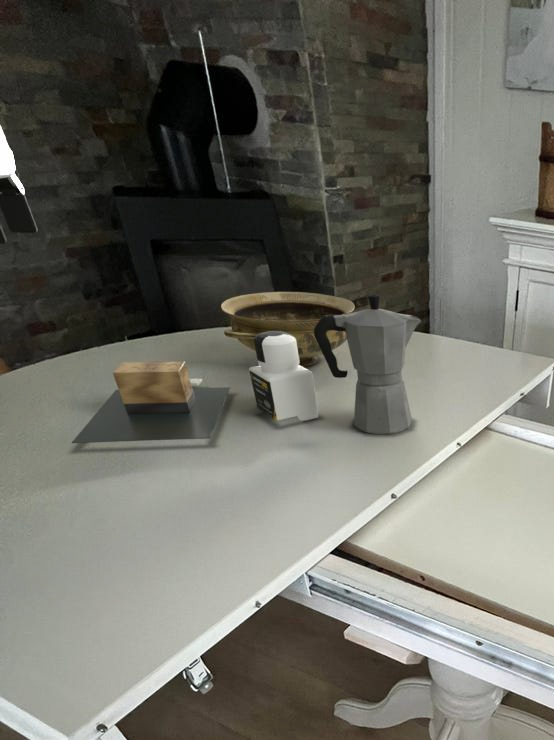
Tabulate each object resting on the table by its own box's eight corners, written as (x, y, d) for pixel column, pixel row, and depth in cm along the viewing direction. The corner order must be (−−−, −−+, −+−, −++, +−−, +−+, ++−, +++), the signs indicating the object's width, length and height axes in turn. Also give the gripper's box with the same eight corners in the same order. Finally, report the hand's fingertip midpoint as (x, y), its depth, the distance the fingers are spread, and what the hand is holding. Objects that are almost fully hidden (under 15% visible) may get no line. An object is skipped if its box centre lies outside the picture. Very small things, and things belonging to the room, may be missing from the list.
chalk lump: (185, 392, 100) (182, 382, 99) (190, 387, 102) (187, 378, 101) (199, 392, 100) (197, 383, 99) (204, 388, 102) (201, 378, 101)
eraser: (127, 414, 89) (112, 372, 85) (135, 402, 92) (121, 362, 89) (190, 412, 90) (178, 371, 86) (195, 401, 94) (184, 361, 90)
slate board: (74, 451, 81) (71, 442, 80) (118, 397, 97) (116, 389, 97) (211, 446, 84) (209, 438, 83) (232, 394, 100) (230, 387, 99)
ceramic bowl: (281, 393, 101) (269, 330, 95) (193, 366, 111) (178, 306, 104) (393, 356, 121) (390, 301, 114) (311, 335, 130) (304, 283, 124)
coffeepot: (415, 409, 98) (411, 285, 86) (431, 430, 91) (429, 299, 80) (322, 418, 94) (304, 289, 82) (332, 441, 87) (314, 304, 75)
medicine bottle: (257, 414, 94) (240, 331, 86) (298, 405, 98) (285, 325, 90) (277, 428, 90) (261, 343, 82) (319, 418, 94) (307, 336, 86)
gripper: (-68, 49, 68) (5, 228, 80) (-161, 32, 56) (-59, 247, 67) (4, 54, 70) (65, 229, 81) (-71, 37, 57) (14, 248, 68)
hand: (9, 237), depth 74 cm, fingers open, 9 cm apart
